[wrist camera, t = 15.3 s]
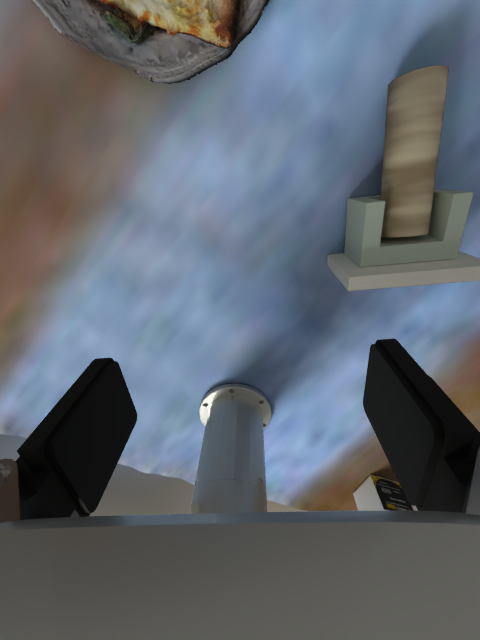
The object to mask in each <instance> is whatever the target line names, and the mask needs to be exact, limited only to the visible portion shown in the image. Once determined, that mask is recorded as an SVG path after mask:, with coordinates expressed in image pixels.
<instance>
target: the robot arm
mask: <svg viewBox="0 0 480 640" xmlns="http://www.w3.org/2000/svg"><path fill="white" fill-rule="evenodd" d="M363 406H364V410H365V412H366V415H367V417H368V419H369V421H370V423H371V425H372V427H373V429H374V431H375V433H376V435H377V438H378V440H379V442H380V444H381V446H382V448H383V450H384V452H385V454H386V456H387V458H388V460H389V463H390V465H391V467H392V469H393V471H394V473H395V475H396V477H397V479H398V481H399V483H400V485H401V488H402V490H403V492H404V494H405V496H406V498H407V500H408V502H409V503H410V504H411V505H412V506H415V505H416V507H417V509H418V511H309V512H267V497H266V476H265V455H264V435H263V431H264V430H265V429H266V428H267V426H268V425H269V423H270V420H271V406H270V403H269V401H268V399H267V398H266V397H265V396H264V395H263V394H262V393H261V392H260V391H258V390H257V389H255V388H253V387H251V386H247V385H243V384H225V385H221V386H218V387H216V388H214V389H212V390H210V391H209V392H208V393H207V394H206V395H205V396H204V397H203V399H202V401H201V404H200V408H199V415H200V419H201V421H202V423H203V425H204V426H205V432H204V437H203V443H202V448H201V454H200V459H199V465H198V471H197V476H196V482H195V487H194V493H193V499H192V504H191V514H165V515H164V514H161V515H124V516H93V517H92V516H89V515H90V513H92V512H94V510H96V508H97V506H98V504H99V502H100V500H101V497H102V495H103V493H104V491H105V489H106V487H107V484H108V482H109V480H110V478H111V476H112V474H113V471H114V469H115V467H116V465H117V463H118V461H119V458H120V456H121V454H122V452H123V450H124V448H125V445H126V443H127V441H128V439H129V437H130V434H131V432H132V430H133V428H134V426H135V424H136V421H137V412H136V409H135V407H134V404H133V401H132V399H131V396H130V393H129V391H128V388H127V385H126V383H125V380H124V377H123V374H122V372H121V369H120V366H119V364H118V362H116V361H114V360H113V359H112V358H101V359H95V360H93V361H92V362H91V364H90V365H89V366H88V367H87V368H86V370H85V371H84V372H83V373H82V374H81V376H80V377H79V378H78V379H77V380H76V381H75V383H74V384H73V385H72V386H71V387H70V389H69V390H68V391H67V392H66V393H65V395H64V396H63V397H62V398H61V399H60V400H59V402H58V403H57V404H56V405H55V406H54V408H53V409H52V410H51V411H50V412H49V413H48V415H47V416H46V417H45V418H44V419H43V421H42V422H41V423H40V424H39V425H38V427H37V428H36V429H35V430H34V431H33V432H32V434H31V435H30V436H29V437H28V438H27V440H26V441H25V442H24V443H23V444H22V446H21V447H20V448H19V449H18V450H17V452H18V453H19V455H20V457H19V458H18V459H17V460H16V461H14V460H12V459H1V460H0V640H480V432H479V431H478V430H477V429H476V428H475V427H474V425H473V424H472V423H471V422H470V421H469V420H468V419H467V418H466V416H465V415H464V414H463V413H462V412H461V411H460V410H459V408H458V407H457V406H456V405H455V404H454V403H453V402H452V401H451V399H450V398H449V397H448V396H447V395H446V394H445V393H444V391H443V390H442V389H441V388H440V387H439V386H438V385H437V384H436V382H435V381H434V380H433V379H432V378H431V377H430V376H428V375H427V374H426V373H425V372H424V371H423V370H422V368H421V367H420V366H419V365H418V364H417V363H416V362H415V360H414V359H413V358H412V357H411V356H410V355H409V354H408V352H407V351H406V350H405V349H404V348H403V347H402V346H401V344H400V343H399V342H398V341H397V340H396V339H383V340H377V341H376V343H375V344H372V345H371V347H370V353H369V361H368V368H367V376H366V383H365V391H364V398H363Z"/></svg>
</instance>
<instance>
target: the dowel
mask: <svg viewBox="0 0 480 640" xmlns="http://www.w3.org/2000/svg"><path fill="white" fill-rule="evenodd" d="M448 72H449V68H448V67H447V66H442V65H437V66H429V67H424V68H420V69H417V70H414V71H411V72H408V73H406V74H404V75H402V76H400V77H398V78H396V79H394V80H393V81H392V82H391V83H390V84H389V85H388V95H387V110H386V125H385V140H384V155H383V170H382V185H381V200H382V201H385V208H384V216H383V224H382V232H381V237H409V236H419V235H426V234H428V233H429V225H430V217H431V209H432V201H433V193H434V185H435V177H436V169H437V160H438V152H439V144H440V136H441V128H442V120H443V112H444V104H445V96H446V88H447V80H448Z"/></svg>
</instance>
